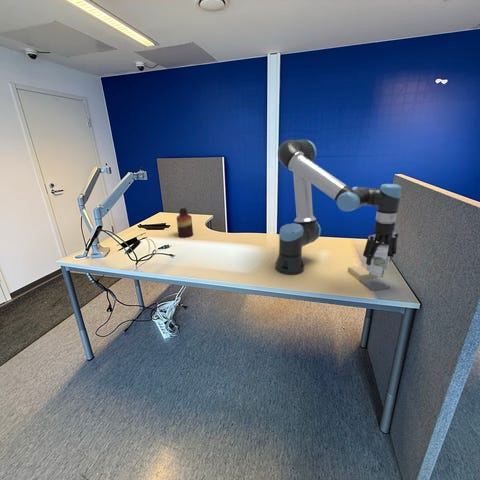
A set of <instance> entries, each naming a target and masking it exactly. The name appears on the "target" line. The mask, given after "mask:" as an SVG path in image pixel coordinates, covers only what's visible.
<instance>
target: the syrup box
mask: <svg viewBox="0 0 480 480" xmlns="http://www.w3.org/2000/svg"><path fill="white" fill-rule="evenodd" d="M388 247H389V246H388V245H387V244H384V242H383V243H381V245H379V246H378V247H377V250H376V252H375V254H374V256H373V259H374V261H373V267H372V272H369V275H372V276H377V277H376V278H383V277H384V273H385V264H386V259H387V254H388Z"/></svg>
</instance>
